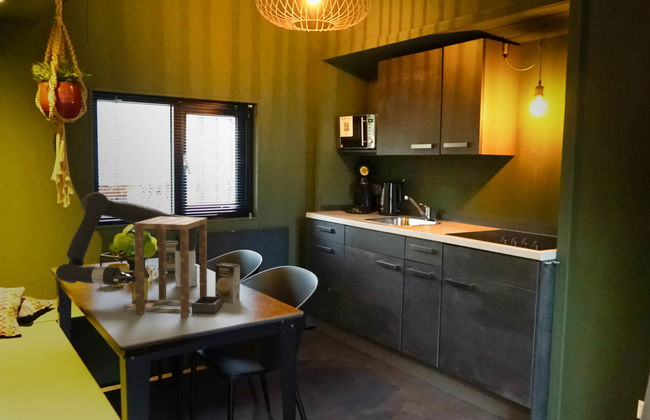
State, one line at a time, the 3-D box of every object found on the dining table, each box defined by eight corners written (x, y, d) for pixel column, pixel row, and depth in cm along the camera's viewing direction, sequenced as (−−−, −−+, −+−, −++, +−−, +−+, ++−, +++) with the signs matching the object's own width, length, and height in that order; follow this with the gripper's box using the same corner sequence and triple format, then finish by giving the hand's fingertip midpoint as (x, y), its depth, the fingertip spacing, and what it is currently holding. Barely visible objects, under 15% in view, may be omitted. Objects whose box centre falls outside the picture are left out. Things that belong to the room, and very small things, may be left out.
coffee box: (214, 301, 236) (214, 264, 234) (221, 298, 242) (221, 262, 240) (233, 304, 233) (233, 266, 231) (240, 300, 239) (240, 263, 237)
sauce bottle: (128, 305, 224) (128, 256, 222) (136, 301, 230) (135, 254, 228) (143, 306, 223) (143, 257, 221) (150, 302, 229) (150, 254, 227)
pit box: (191, 313, 218) (191, 303, 218) (201, 305, 230) (201, 295, 230) (213, 314, 217) (213, 304, 217) (222, 306, 229) (222, 296, 229)
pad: (124, 309, 222) (124, 308, 222) (135, 302, 232) (134, 301, 232) (145, 310, 221) (145, 309, 221) (155, 303, 231) (155, 302, 231)
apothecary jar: (154, 276, 282) (153, 242, 281) (171, 272, 293) (171, 239, 291) (170, 279, 276) (170, 244, 274) (188, 275, 286) (188, 241, 285)
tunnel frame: (116, 314, 214) (114, 222, 211) (143, 298, 239) (142, 215, 236) (186, 317, 212) (186, 224, 208) (207, 301, 236) (207, 217, 233)
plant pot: (118, 288, 256) (118, 267, 255) (101, 286, 260) (100, 265, 259) (134, 284, 266) (133, 264, 265) (117, 281, 270) (116, 262, 269)
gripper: (97, 270, 219) (137, 272, 218) (114, 263, 234) (152, 265, 232) (97, 288, 220) (137, 290, 218) (114, 280, 234) (152, 282, 233)
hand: (145, 277), depth 225 cm, fingers closed on sauce bottle, 6 cm apart
